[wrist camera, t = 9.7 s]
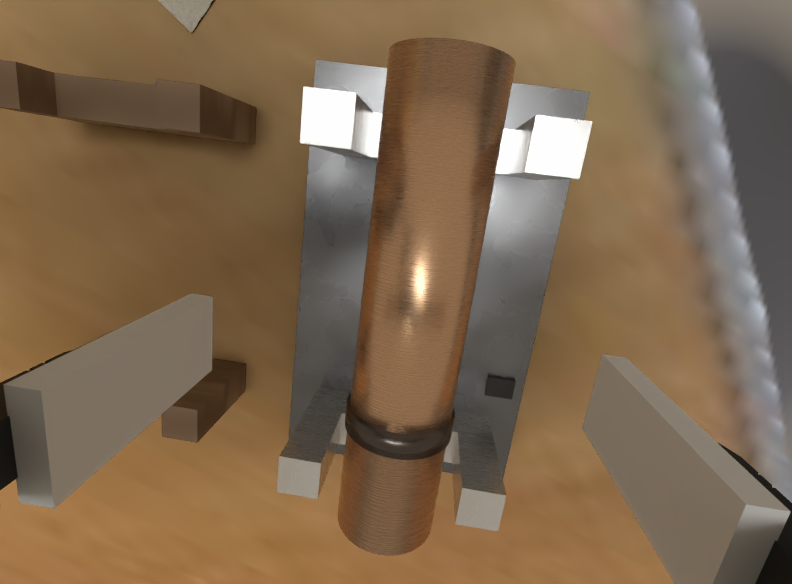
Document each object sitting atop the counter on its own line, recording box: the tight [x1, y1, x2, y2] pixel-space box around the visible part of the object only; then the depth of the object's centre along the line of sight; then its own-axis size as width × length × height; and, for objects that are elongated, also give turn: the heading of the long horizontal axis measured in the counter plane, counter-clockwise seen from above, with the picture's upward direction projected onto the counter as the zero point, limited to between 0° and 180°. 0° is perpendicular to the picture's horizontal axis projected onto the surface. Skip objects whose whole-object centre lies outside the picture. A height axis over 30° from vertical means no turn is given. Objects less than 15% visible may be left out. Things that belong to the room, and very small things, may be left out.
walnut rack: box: [0, 60, 256, 443], centre depth 24 cm, size 18×11×6 cm, turn 173°
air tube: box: [338, 38, 516, 556], centre depth 20 cm, size 22×5×5 cm, turn 172°
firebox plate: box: [277, 60, 593, 531], centre depth 22 cm, size 23×14×8 cm, turn 173°
